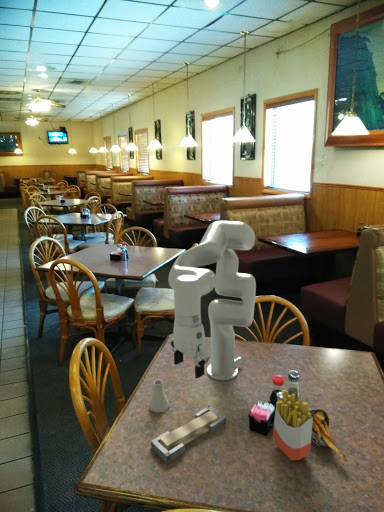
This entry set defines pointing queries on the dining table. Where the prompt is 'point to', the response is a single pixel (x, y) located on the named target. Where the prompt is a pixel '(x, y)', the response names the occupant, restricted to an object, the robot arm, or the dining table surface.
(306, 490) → the dining table surface
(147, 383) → the dining table surface
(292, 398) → the french fries container
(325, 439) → the fried food
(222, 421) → the end cap
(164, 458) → the end cap
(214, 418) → the birch slat
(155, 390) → the flask
